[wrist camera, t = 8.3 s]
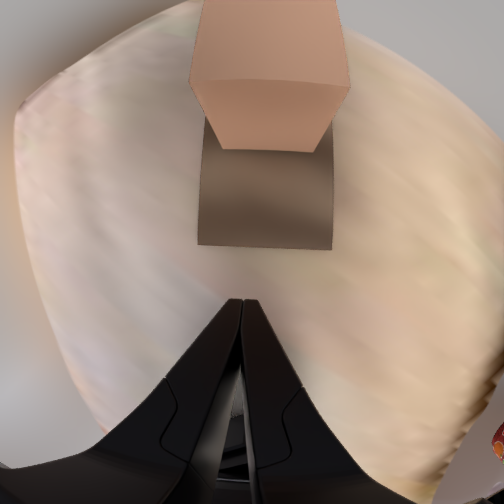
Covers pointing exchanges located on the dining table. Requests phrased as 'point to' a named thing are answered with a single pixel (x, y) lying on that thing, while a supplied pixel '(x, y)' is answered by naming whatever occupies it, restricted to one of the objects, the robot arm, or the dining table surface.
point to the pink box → (270, 71)
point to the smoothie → (499, 443)
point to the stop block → (266, 196)
